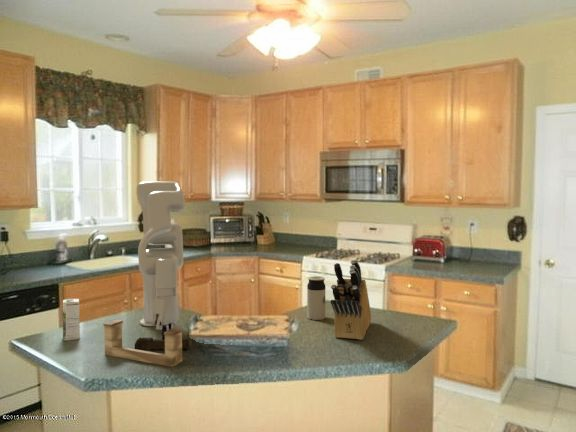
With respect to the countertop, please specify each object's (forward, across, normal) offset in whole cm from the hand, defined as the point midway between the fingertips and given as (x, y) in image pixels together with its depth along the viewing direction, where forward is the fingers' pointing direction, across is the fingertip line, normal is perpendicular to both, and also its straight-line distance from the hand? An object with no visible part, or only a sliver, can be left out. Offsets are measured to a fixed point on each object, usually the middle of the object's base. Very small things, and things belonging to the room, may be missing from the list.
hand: (167, 342), depth 163 cm
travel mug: (+2, -55, +38) cm, 67 cm away
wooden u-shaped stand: (+1, +13, 0) cm, 13 cm away
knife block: (+2, -40, +58) cm, 70 cm away
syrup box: (+2, +6, -39) cm, 40 cm away
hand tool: (+2, +4, +1) cm, 5 cm away
